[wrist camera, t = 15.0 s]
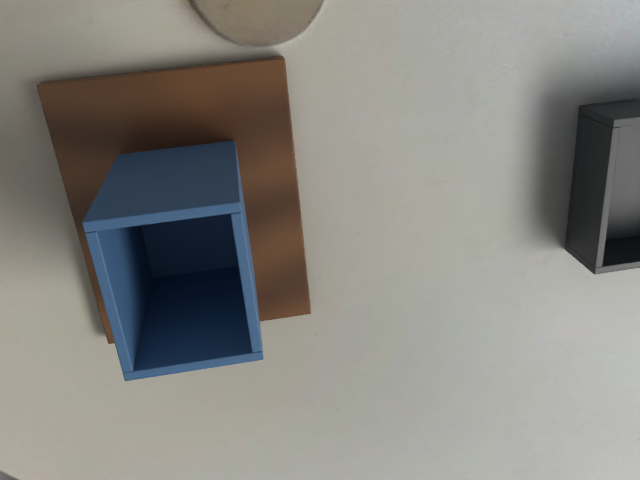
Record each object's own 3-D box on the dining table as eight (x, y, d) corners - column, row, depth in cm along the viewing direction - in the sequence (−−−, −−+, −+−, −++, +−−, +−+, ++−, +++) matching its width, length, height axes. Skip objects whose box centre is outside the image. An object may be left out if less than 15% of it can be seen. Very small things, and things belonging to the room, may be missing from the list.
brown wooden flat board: (40, 82, 40) (36, 85, 39) (283, 56, 41) (284, 58, 40) (110, 337, 48) (108, 344, 47) (309, 307, 50) (311, 313, 49)
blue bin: (117, 154, 41) (81, 222, 31) (235, 140, 42) (240, 201, 31) (147, 282, 46) (124, 381, 35) (253, 267, 47) (263, 360, 36)
